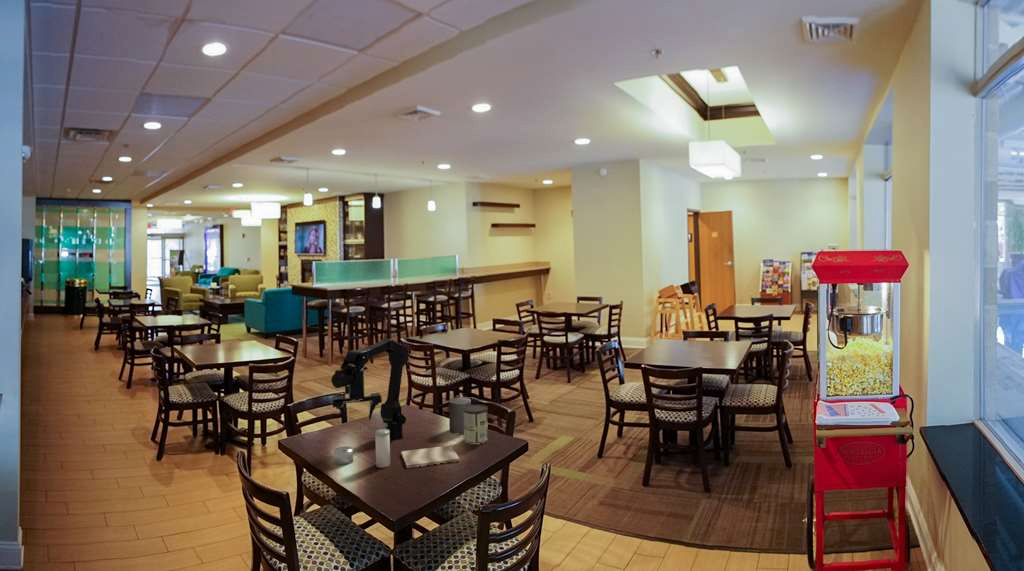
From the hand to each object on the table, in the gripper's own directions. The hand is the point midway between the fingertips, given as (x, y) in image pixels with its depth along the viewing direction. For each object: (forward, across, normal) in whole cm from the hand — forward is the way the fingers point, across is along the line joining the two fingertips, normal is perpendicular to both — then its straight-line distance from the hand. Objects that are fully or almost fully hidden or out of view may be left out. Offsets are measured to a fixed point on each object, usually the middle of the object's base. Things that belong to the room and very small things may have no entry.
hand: (357, 421), depth 228 cm
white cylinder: (+13, -8, +16) cm, 22 cm away
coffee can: (+13, -48, +2) cm, 50 cm away
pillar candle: (+13, -45, -13) cm, 49 cm away
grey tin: (+13, +6, +8) cm, 16 cm away
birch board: (+13, -26, +15) cm, 33 cm away
